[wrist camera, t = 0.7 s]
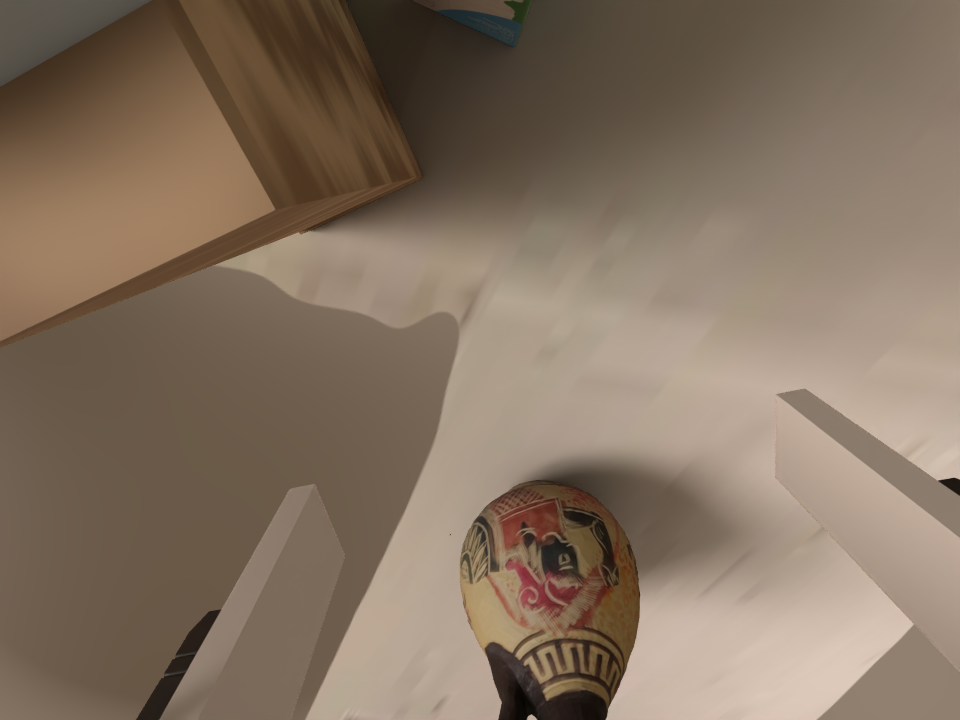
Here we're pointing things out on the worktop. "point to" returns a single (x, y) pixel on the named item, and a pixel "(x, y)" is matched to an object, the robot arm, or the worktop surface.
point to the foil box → (50, 28)
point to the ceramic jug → (551, 600)
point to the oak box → (184, 149)
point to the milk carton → (486, 15)
